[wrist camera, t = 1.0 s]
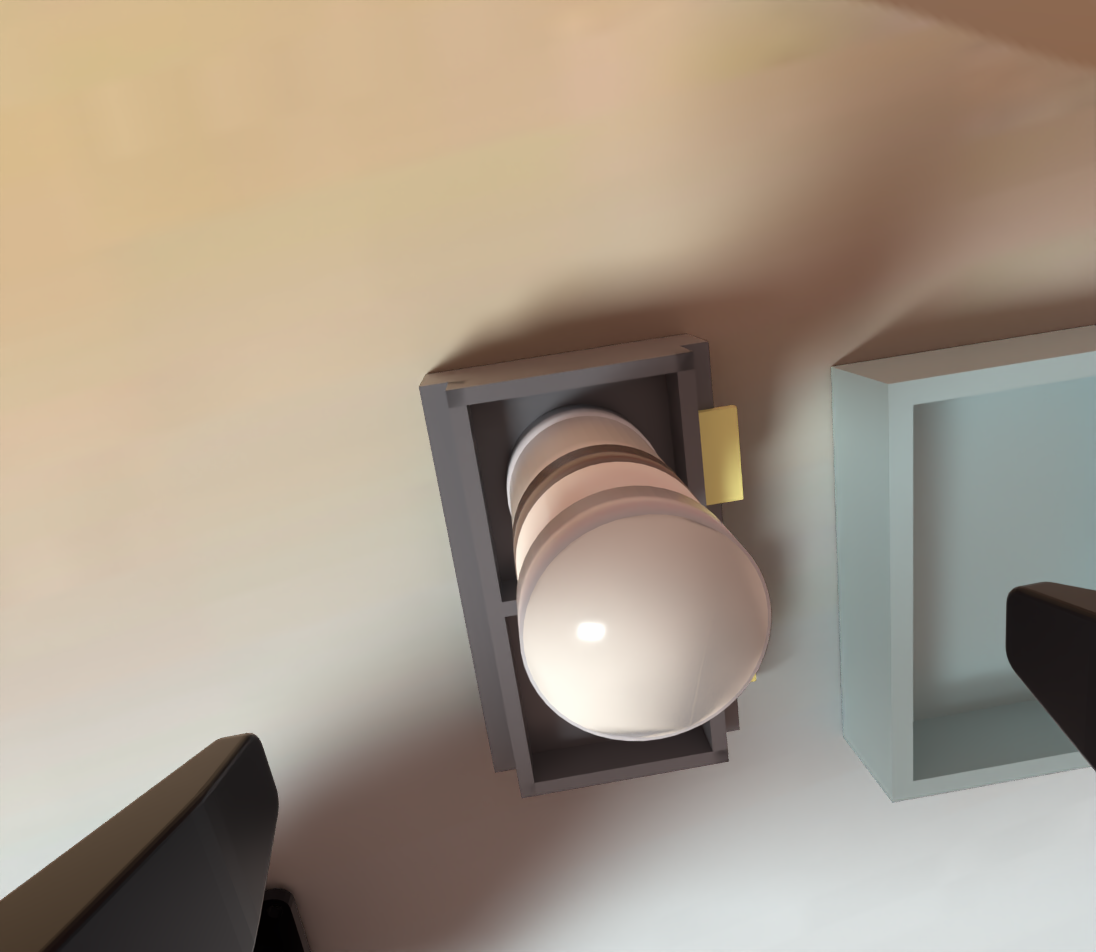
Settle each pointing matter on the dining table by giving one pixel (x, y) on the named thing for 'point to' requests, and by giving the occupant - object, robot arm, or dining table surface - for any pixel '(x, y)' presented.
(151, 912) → the robot arm
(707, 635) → the fuse
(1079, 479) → the tray
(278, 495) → the dining table surface
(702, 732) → the block
